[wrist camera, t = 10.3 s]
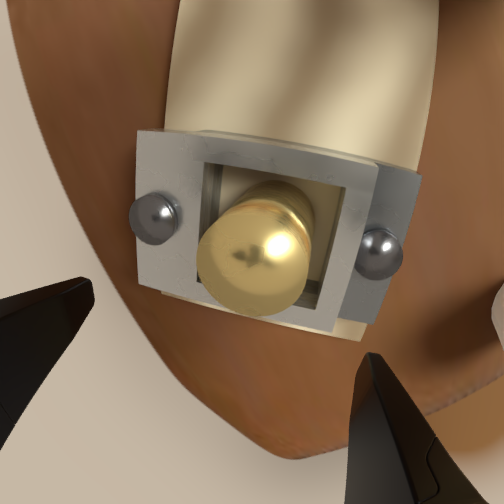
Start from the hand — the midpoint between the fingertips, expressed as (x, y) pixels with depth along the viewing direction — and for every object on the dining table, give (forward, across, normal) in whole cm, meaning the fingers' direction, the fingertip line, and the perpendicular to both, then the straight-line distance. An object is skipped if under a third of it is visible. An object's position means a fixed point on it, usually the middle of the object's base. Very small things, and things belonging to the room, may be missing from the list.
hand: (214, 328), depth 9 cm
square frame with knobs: (+10, 0, 0) cm, 10 cm away
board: (+11, 0, -4) cm, 11 cm away
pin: (+10, 0, 0) cm, 10 cm away
